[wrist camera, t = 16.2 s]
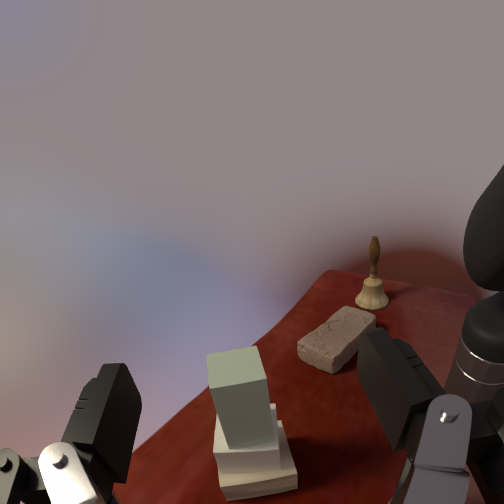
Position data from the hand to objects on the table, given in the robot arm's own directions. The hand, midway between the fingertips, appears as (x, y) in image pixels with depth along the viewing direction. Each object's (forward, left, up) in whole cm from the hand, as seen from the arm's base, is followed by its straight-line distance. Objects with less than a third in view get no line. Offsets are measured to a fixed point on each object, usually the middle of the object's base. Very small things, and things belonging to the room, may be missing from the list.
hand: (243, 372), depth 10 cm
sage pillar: (-7, -13, -22) cm, 27 cm away
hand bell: (-54, -25, -32) cm, 68 cm away
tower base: (-7, -13, -32) cm, 35 cm away
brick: (-36, -22, -32) cm, 53 cm away
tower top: (-7, -13, -27) cm, 31 cm away
